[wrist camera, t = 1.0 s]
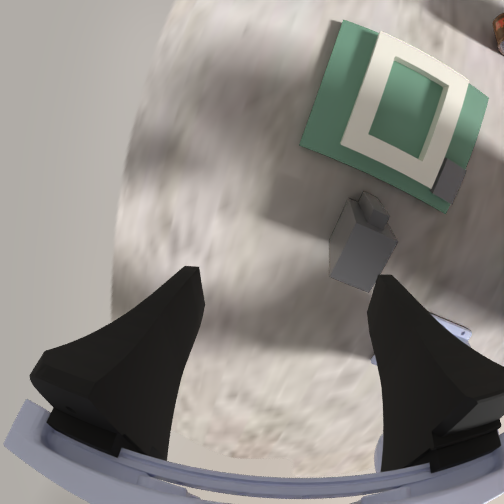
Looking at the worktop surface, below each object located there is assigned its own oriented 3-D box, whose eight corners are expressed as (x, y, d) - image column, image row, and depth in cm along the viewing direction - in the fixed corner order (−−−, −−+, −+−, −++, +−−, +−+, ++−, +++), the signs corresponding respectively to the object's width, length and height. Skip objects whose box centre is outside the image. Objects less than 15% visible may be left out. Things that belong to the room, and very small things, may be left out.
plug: (386, 201, 21) (405, 227, 15) (360, 254, 23) (369, 292, 18) (353, 186, 21) (362, 207, 16) (329, 241, 23) (329, 276, 18)
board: (484, 98, 14) (495, 97, 13) (442, 211, 20) (451, 219, 18) (342, 23, 15) (344, 14, 14) (299, 144, 21) (297, 146, 19)
